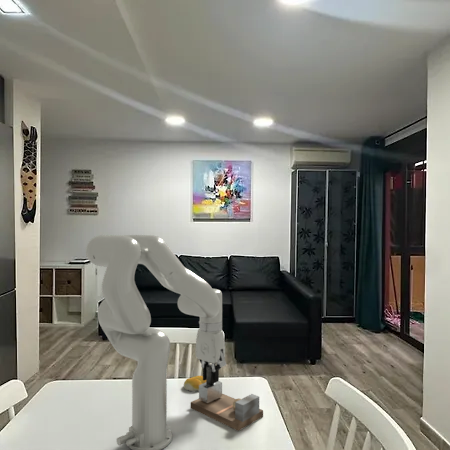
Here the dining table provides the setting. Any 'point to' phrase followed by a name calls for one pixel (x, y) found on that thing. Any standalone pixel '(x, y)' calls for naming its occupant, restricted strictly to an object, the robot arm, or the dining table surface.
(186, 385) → the bread roll
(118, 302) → the robot arm
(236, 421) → the base
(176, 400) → the dining table surface
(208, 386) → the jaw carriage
